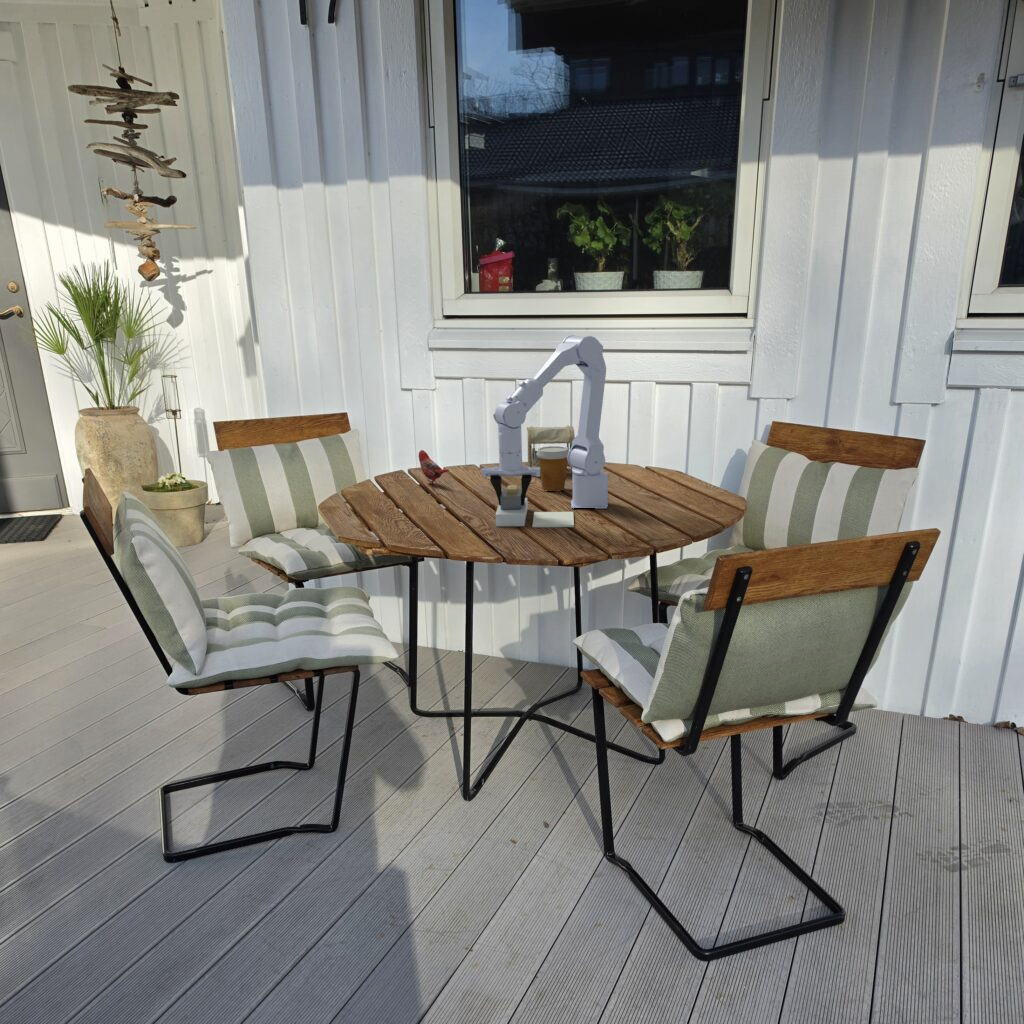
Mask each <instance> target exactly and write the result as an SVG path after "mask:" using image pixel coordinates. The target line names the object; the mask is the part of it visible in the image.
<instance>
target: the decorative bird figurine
mask: <svg viewBox="0 0 1024 1024" xmlns="http://www.w3.org/2000/svg"><path fill="white" fill-rule="evenodd" d="M418 461H419V465H420V468H421V472H422V474H423V475H424V476H425V477H426V478H427V479H429V481H428V482H430V483H434V485H436V483H435V481H436V480H437V479H439V478H441V477H442V475H443V473H447V472H449V471H450V469H449V468H447V469H443V468H441V467H440V466H439V465H438V464H437V463H436V462H435V461H434V460H432V459H431V458H430V457H429V455H428V453H427V452H426V451H425V450H424V449H423V450H422V449H421V450H420V451H419V452H418ZM430 480H431V481H430Z"/></svg>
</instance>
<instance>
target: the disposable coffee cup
mask: <svg viewBox="0 0 1024 1024" xmlns="http://www.w3.org/2000/svg"><path fill="white" fill-rule="evenodd" d="M536 451H537V453H536V455H537V457H538V461H539V466H538V468H540V480H541V488H542V490H543V489H544V490H547V491H558V490H562V489H564V490H565V488H564V487H566V486H565V485H566V478H567V473H566V471H568V470H567V467H568V466H567V461H568V459H567V456H568V453H569V452H568V448H567V446H566V447H565V446H559V445H558V446H557V445H555V446H551V445H550V446H542V447H539V448H537V450H536Z"/></svg>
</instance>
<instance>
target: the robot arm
mask: <svg viewBox="0 0 1024 1024" xmlns="http://www.w3.org/2000/svg"><path fill="white" fill-rule="evenodd" d="M603 351H604V345H603V344H601V342H600V341H599V340H598V339H597V338H596V337H595V336H592V335H589V336H588V335H587V336H583V335H582V336H581V335H578V336H577V335H575V334H574V335H572V334H571V335H568V336H566V337H565V338H564V339H563V340H562V342H560V343H559V344H558V345H557V346H556V349H555V351H554V352H553V353H552V354H551V356H550V357H549V358H548V359H547V361H545V363H544V365H542V367H541V368H540V369H539V371H538V372H536V374H535V375H534V376H533V378H526V379H525V380H524V381H523V380H521V381H520V382H519V383H517V384H518V387H517V389H516V390H515V391H514V392H513V393H512V394H511V395H510V396H509V395H508V396H507V397H506V401H503V402H501V403H499V404H498V405H497V406H496V408H495V411H494V413H493V419H494V421H495V423H496V424H497V429H498V433H497V434H498V436H497V437H498V438H497V439H498V459H499V460H498V461H499V462H498V463H499V464H498V465H499V466H497V467H496V466H495V467H483V468H481V477H482V478H487V477H490V479H489V482H490V484H491V486H492V487H493V489H494V491H495V494H496V498H497V501H498V505H501V499H500V496H501V493H502V490H503V488H502V477H521V479H520V482H521V483H520V484H521V489H522V499H521V503H522V505H524V504H525V498H526V495H527V493H528V489H529V486H530V484H531V481H532V478H533V477H537V478H541V475H540V468H539V467H536V466H532V467H528V466H523V448H522V445H523V441H522V438H523V437H522V425H523V424H524V423H525V422H526V417H527V413H529V411H530V410H531V409H532V408H533V406H534V405H535V404H537V402H538V401H539V400H540V399H541V398H542V397H543V396H544V387H546V386H547V384H549V383H550V382H551V381H552V380H553V379H554V378H555V377H556V376H557V375H558V374H559V373H560V372H561V371H562V370H563V369H564V368H566V367H567V366H573V365H575V366H577V368H578V369H579V370H580V371H581V372H582V373H583V383H582V384H583V385H582V393H581V402H580V413H579V419H578V420H579V421H578V427H577V428H578V430H577V435H575V438H574V440H573V441H572V446H571V449H570V448H569V453H568V456H567V459H568V463H569V465H570V466H571V467H572V472H573V473H572V474H571V475H572V477H571V478H572V499H571V500H570V506H571V509H572V508H573V509H574V508H595V509H608V508H609V507H608V503H609V499H610V498H609V493H608V491H609V490H608V488H609V486H608V485H609V483H608V482H609V479H608V472H602V471H603V469H604V467H605V465H606V456H605V454H604V451H605V449H604V448H605V447H604V444H603V442H602V440H601V439H600V429H601V419H602V411H603V404H604V392H605V387H606V386H605V384H606V376H607V366H606V362H605V358H604V354H603ZM607 507H608V508H607Z"/></svg>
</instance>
